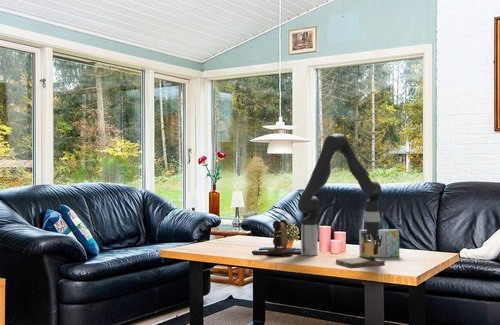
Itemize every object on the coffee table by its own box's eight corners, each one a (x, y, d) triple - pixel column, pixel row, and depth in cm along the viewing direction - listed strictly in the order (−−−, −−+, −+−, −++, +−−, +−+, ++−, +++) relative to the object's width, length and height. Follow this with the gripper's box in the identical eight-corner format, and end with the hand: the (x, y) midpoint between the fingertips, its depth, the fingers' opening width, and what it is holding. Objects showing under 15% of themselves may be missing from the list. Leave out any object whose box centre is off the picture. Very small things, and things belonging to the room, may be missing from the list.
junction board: (336, 263, 284) (335, 245, 284) (368, 260, 292) (368, 243, 292) (350, 267, 271) (350, 249, 271) (384, 264, 279) (384, 247, 279)
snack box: (396, 255, 310) (396, 228, 310) (399, 257, 304) (399, 229, 304) (359, 256, 309) (359, 229, 309) (361, 257, 303) (361, 230, 303)
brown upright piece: (284, 258, 303) (283, 221, 303) (262, 255, 312) (262, 220, 312) (298, 254, 314) (298, 219, 315) (277, 252, 323) (276, 218, 324)
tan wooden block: (364, 254, 282) (364, 243, 282) (373, 254, 284) (373, 242, 285) (371, 256, 277) (371, 244, 277) (380, 255, 279) (379, 243, 280)
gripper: (358, 219, 286) (358, 252, 286) (374, 222, 273) (374, 256, 273) (370, 219, 289) (370, 251, 289) (386, 221, 276) (387, 255, 276)
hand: (372, 253), depth 281 cm, fingers closed on tan wooden block, 5 cm apart
